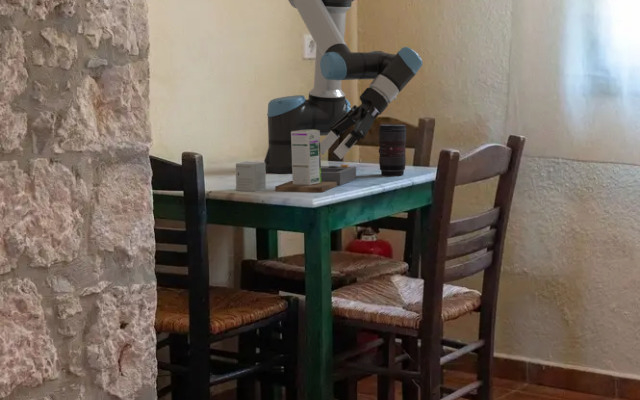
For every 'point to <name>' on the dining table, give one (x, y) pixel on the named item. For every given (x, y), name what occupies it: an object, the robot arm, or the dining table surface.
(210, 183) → the dining table surface
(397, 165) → the camera lens
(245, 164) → the product box
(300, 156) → the syrup box
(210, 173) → the dining table surface
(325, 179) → the grey frame with knob
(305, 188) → the walnut board
